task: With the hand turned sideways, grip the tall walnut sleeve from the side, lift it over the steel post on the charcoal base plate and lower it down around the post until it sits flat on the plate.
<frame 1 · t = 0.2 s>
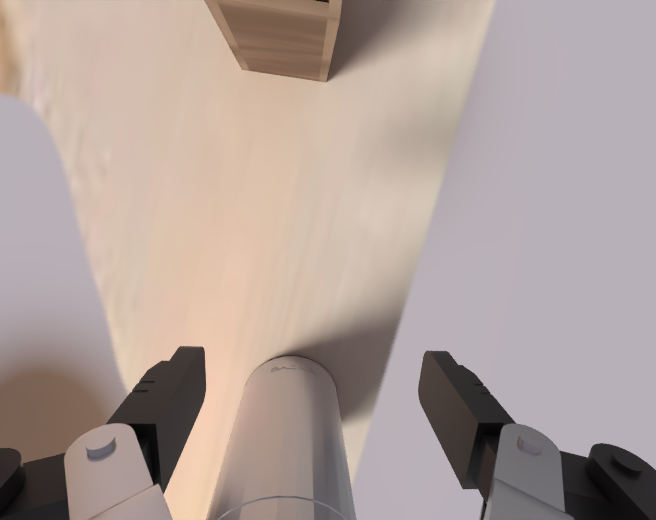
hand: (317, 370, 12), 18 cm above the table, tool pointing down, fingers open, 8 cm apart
walnut sleeve: (288, 28, 24), on the table
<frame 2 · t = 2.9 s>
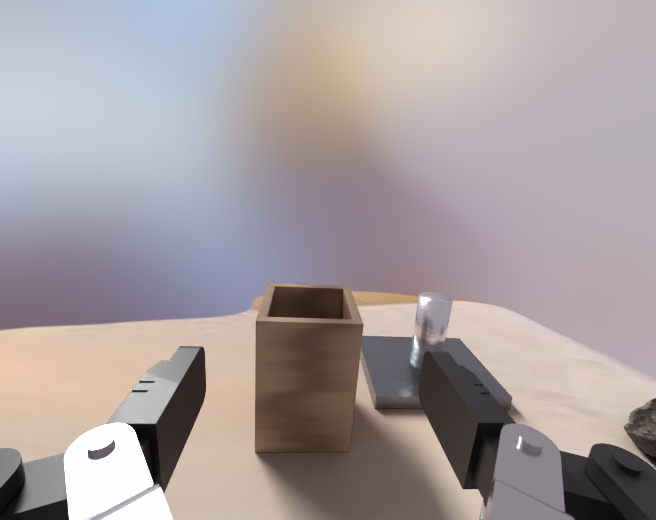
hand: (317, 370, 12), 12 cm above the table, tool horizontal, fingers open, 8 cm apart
post plate: (422, 373, 32), on the table
walnut sleeve: (303, 416, 25), on the table
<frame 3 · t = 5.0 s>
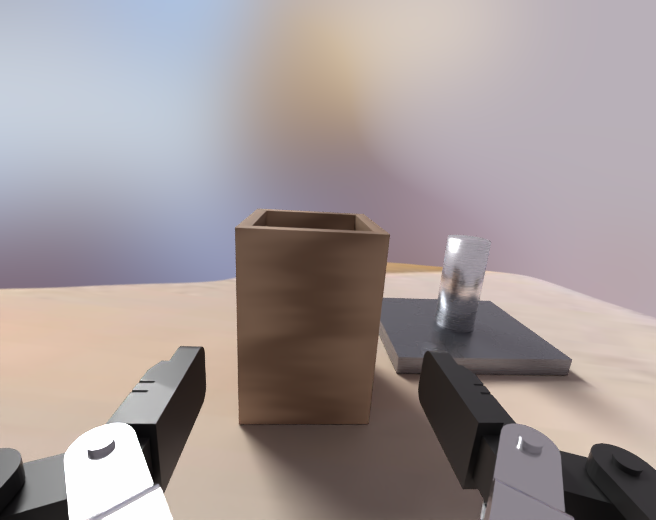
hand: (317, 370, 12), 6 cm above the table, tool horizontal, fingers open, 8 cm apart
post plate: (451, 336, 26), on the table
walnut sleeve: (304, 382, 19), on the table
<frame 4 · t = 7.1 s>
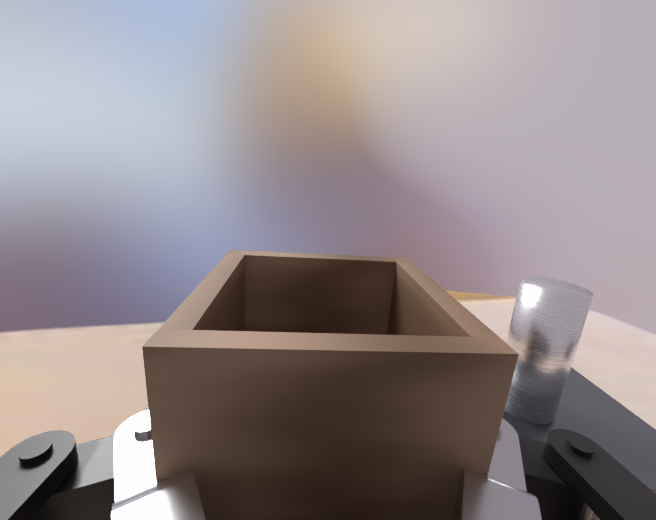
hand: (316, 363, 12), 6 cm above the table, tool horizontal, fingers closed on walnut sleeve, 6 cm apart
post plate: (518, 421, 18), on the table
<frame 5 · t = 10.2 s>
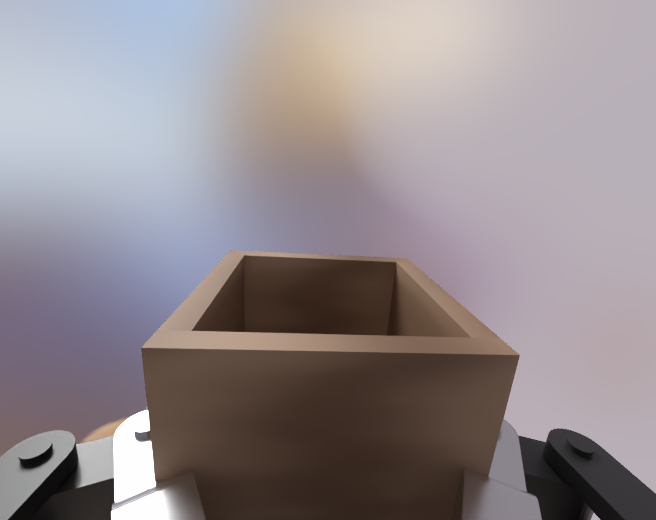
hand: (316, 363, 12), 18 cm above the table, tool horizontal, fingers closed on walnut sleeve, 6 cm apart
when the fingers open (8 cm above the table, at t = 13.2 s): walnut sleeve drops 1 cm, resting on post plate.
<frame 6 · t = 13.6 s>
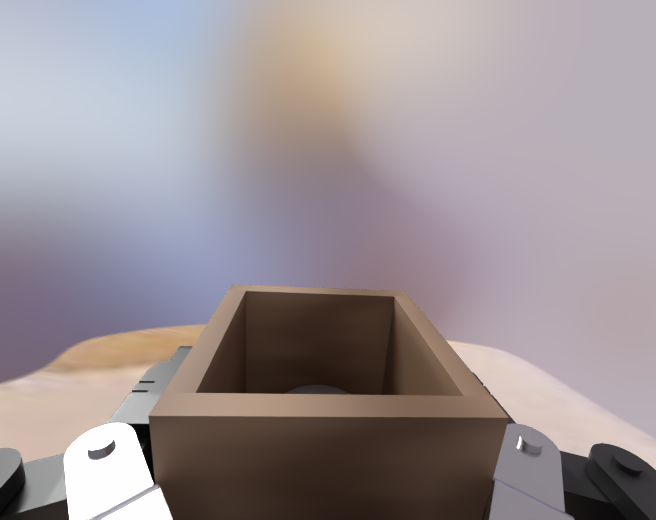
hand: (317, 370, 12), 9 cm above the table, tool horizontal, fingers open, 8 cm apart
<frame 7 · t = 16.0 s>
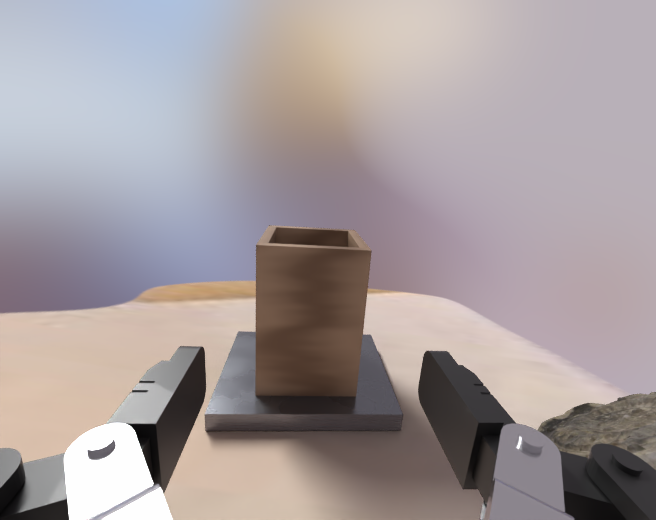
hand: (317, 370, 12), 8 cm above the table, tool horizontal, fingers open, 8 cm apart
fossil: (627, 512, 16), on the table
post plate: (305, 379, 24), on the table
walnut sleeve: (306, 366, 24), point 1 cm above the table, touching post plate
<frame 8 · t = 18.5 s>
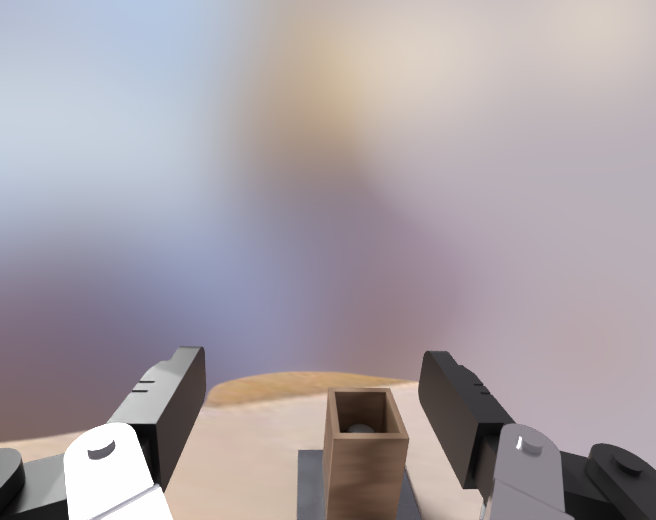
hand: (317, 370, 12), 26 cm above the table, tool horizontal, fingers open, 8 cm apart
post plate: (354, 498, 34), on the table
walnut sleeve: (355, 490, 33), point 1 cm above the table, touching post plate
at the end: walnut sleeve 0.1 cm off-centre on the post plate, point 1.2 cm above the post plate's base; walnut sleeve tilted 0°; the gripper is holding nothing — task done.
